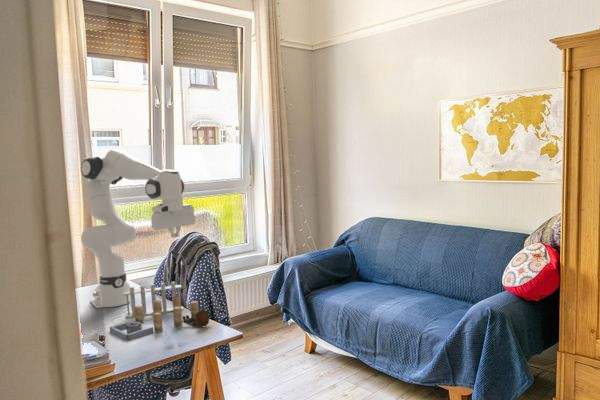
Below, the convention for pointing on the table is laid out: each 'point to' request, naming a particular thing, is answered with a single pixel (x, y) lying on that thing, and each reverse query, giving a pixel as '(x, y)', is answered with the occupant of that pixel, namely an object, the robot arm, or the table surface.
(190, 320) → the toy
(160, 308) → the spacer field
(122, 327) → the tray
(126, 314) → the test tube rack
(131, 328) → the hex nut
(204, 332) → the table surface
